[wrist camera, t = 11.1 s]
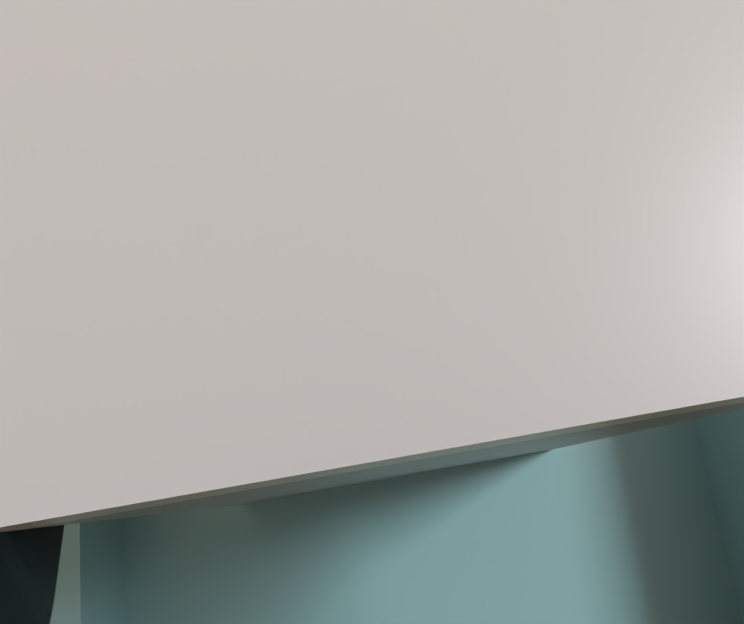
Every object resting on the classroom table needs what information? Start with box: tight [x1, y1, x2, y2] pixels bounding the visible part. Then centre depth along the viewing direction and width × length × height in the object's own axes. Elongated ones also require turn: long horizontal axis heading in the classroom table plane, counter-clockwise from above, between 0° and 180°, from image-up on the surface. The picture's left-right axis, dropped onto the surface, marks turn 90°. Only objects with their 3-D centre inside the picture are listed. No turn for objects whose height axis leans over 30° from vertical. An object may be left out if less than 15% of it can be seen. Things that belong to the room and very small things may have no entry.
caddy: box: [0, 0, 744, 532], centre depth 10 cm, size 5×7×12 cm
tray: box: [50, 409, 744, 624], centre depth 15 cm, size 15×15×3 cm
